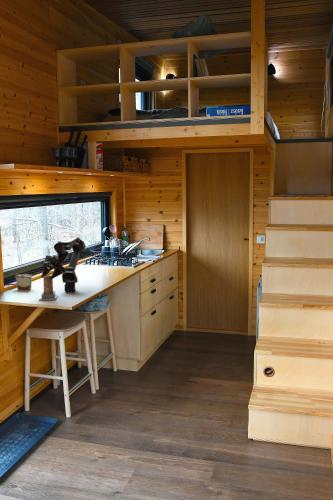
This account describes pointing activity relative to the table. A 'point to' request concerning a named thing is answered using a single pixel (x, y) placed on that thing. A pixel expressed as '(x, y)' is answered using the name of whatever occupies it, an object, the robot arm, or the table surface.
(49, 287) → the walnut post
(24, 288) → the food container
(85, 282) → the table surface
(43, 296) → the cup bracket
